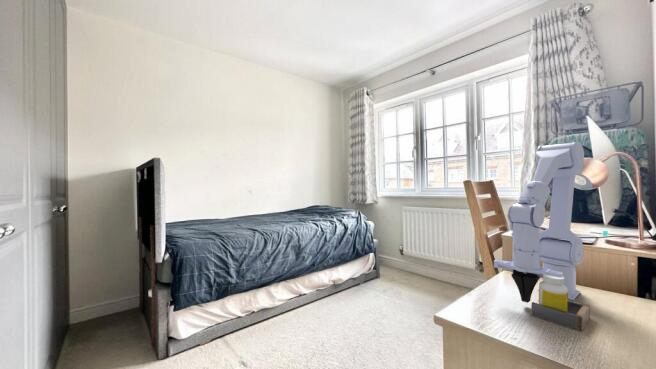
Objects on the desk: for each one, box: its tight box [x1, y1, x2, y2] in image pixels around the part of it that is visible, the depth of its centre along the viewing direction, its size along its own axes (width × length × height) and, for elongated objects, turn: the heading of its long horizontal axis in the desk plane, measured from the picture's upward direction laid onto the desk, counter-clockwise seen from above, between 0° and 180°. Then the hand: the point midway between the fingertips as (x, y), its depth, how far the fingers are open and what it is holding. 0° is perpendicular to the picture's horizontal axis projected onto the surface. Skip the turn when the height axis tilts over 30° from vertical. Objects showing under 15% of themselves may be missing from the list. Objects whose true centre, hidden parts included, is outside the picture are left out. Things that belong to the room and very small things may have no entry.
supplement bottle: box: [538, 274, 569, 312], centre depth 65 cm, size 5×5×10 cm
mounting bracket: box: [530, 299, 591, 332], centre depth 65 cm, size 9×9×3 cm
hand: (525, 301), depth 70 cm, fingers closed
